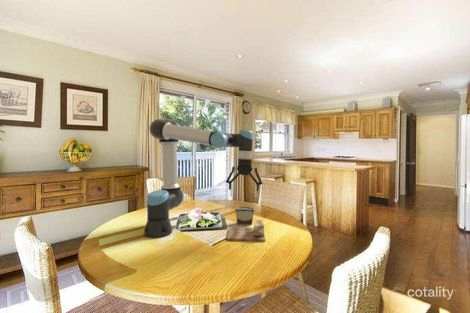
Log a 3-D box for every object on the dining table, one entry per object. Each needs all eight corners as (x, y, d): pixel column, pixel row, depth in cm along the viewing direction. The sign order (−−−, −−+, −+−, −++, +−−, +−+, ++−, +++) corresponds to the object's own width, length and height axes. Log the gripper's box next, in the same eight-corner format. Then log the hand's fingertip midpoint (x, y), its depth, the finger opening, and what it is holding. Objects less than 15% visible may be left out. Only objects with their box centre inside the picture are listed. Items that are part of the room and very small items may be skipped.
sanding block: (254, 236, 128) (254, 225, 128) (254, 230, 137) (254, 220, 137) (263, 236, 128) (264, 225, 128) (262, 230, 137) (262, 220, 137)
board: (227, 240, 126) (227, 238, 126) (229, 229, 142) (229, 227, 142) (265, 241, 125) (265, 239, 125) (263, 230, 141) (263, 228, 141)
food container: (254, 221, 156) (254, 206, 155) (254, 224, 150) (254, 209, 149) (235, 220, 157) (235, 205, 156) (234, 224, 151) (234, 208, 150)
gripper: (222, 157, 129) (220, 196, 131) (268, 159, 128) (266, 198, 130) (223, 156, 137) (222, 193, 138) (267, 158, 136) (265, 195, 137)
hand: (243, 196), depth 134 cm, fingers open, 13 cm apart
